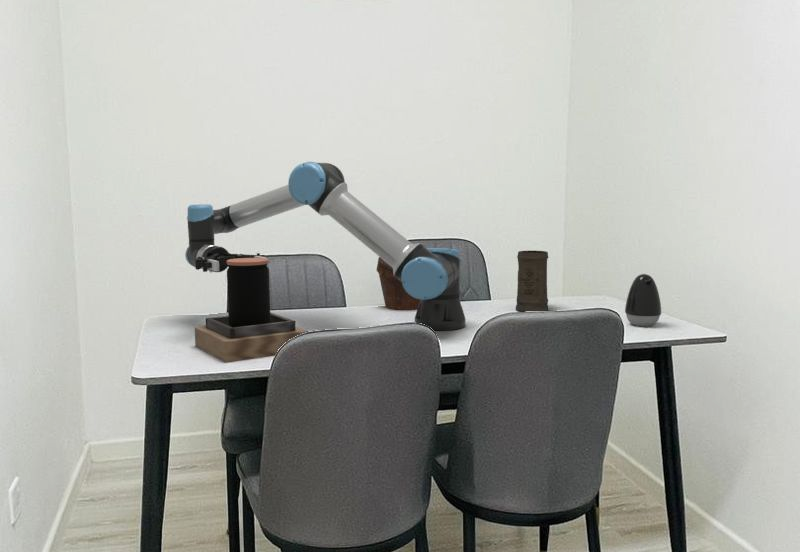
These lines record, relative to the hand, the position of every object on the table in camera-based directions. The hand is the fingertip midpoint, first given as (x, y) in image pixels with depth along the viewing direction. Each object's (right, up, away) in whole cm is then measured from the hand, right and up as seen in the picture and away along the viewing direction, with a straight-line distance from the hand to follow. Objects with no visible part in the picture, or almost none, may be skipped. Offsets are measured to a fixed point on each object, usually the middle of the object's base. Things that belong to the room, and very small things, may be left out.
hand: (242, 264), depth 204 cm
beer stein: (+87, -14, +48) cm, 100 cm away
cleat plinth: (+4, -22, -8) cm, 24 cm away
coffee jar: (+4, -17, -8) cm, 19 cm away
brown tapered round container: (+44, -14, +54) cm, 71 cm away
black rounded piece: (+114, -18, +20) cm, 118 cm away
